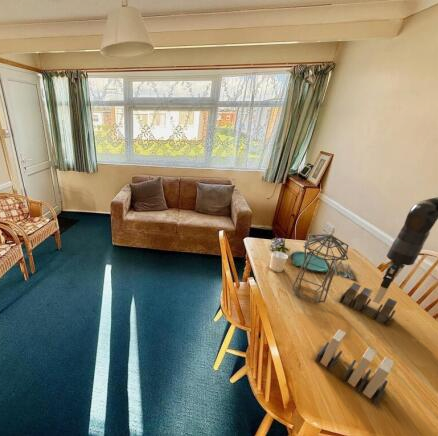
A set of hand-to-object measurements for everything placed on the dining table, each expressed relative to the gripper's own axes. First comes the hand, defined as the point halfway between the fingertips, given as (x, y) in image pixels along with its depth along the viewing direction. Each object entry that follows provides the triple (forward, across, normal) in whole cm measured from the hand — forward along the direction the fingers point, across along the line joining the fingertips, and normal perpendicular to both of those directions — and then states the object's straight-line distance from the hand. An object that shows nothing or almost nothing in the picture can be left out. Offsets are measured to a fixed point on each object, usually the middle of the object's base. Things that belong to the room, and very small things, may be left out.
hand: (386, 283), depth 95 cm
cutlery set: (+17, +21, +28) cm, 39 cm away
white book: (+9, 0, 0) cm, 9 cm away
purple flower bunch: (+17, +17, +50) cm, 56 cm away
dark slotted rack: (+17, -41, -4) cm, 45 cm away
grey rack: (+17, 0, +2) cm, 17 cm away
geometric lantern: (+17, -12, +21) cm, 30 cm away
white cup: (+17, -3, +41) cm, 45 cm away
